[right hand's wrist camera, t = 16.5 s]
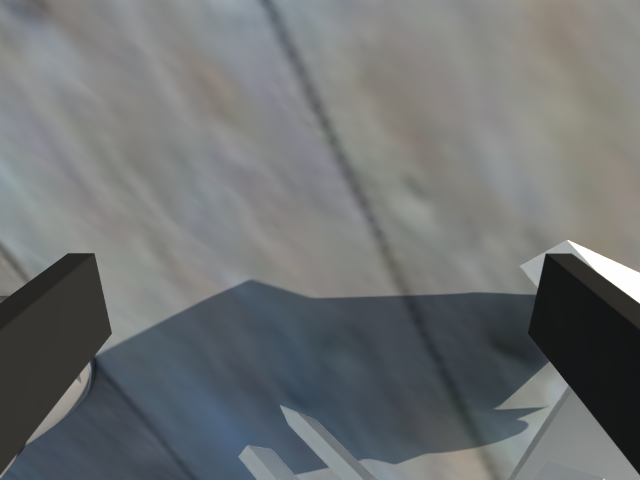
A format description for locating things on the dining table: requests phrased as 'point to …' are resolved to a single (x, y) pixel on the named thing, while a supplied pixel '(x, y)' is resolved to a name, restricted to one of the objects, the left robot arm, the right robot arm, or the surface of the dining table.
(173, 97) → the dining table surface
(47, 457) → the dining table surface
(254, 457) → the white plastic object
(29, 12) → the dining table surface
